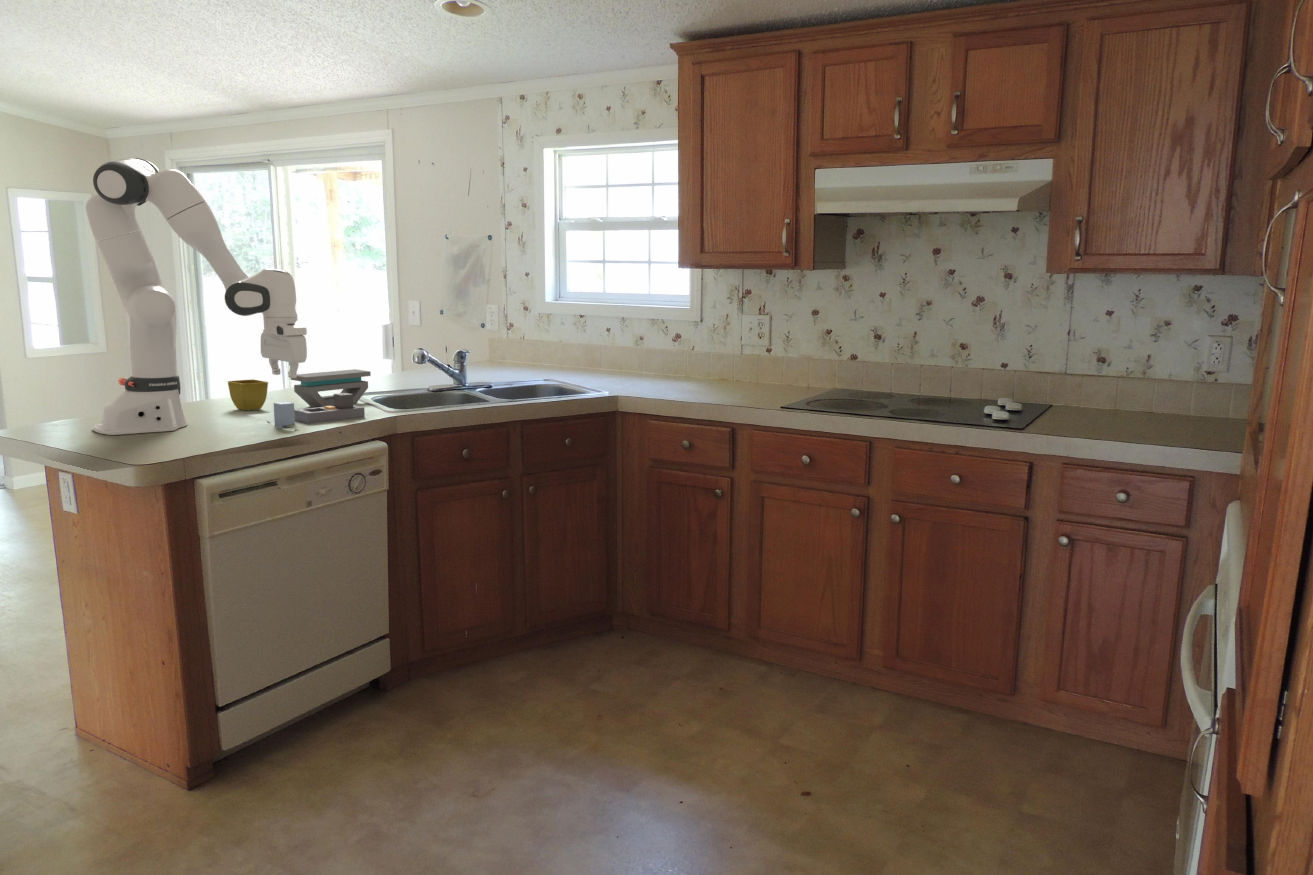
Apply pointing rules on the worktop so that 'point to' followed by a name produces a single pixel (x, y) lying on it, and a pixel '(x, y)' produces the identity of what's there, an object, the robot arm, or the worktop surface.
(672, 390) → the worktop surface
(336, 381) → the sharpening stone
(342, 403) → the twin plug
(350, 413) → the strip
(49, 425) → the worktop surface
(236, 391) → the flower pot
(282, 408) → the plug
